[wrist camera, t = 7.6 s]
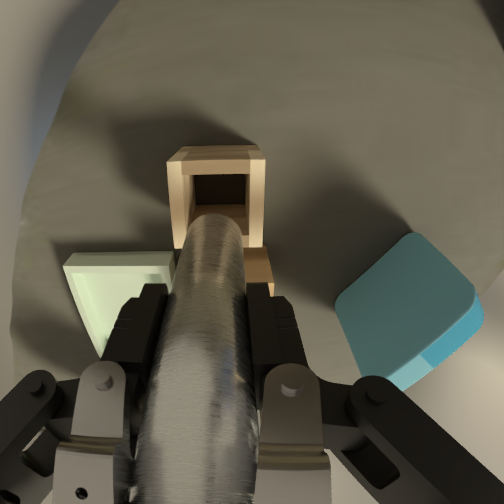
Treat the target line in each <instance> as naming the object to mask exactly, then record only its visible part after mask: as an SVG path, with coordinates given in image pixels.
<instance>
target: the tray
mask: <svg viewBox="0 0 504 504" xmlns="http://www.w3.org/2000/svg"><path fill="white" fill-rule="evenodd" d="M63 269H64V272H65V275H66V278H67V281H68V284H69V286H70V289H71V292H72V295H73V297H74V300H75V302H76V305H77V308H78V310H79V313H80V315H81V317H82V320H83V322H84V325H85V327H86V329H87V331H88V334H89V336H90V338H91V340H92V343H93V345H94V347H95V349H96V351H97V353H98V355H99V357H100V358H101V357H102V354H103V352H104V349H105V347H106V344H107V341H108V339H109V336H110V334H111V331H112V329H113V328H114V324H115V321H116V319H117V317H118V314H119V312H120V309H121V307H122V306H123V305H124V304H125V303H126V302H127V301H128V300H129V299H130V298H131V297H139V296H140V293H141V291H142V288H143V286H144V284H145V283H166V285H167V287H168V293H170V289H171V285H172V282H173V278H174V275H175V271H176V266H175V258H174V251H136V252H79V253H73V254H72V255H71V256H70V257H69V259H68V260H67V261H66V262H65V264H64V265H63Z"/></svg>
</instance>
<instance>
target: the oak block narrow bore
mask: <svg viewBox="0 0 504 504" xmlns="http://www.w3.org/2000/svg"><path fill="white" fill-rule="evenodd" d="M243 253H244V265H245V278H246V282H268V286H269V291H270V296H271V297H272V296H273V293H274V279H273V275H272V270H271V266H270V261H269V257H268V252H267V248H266V245H262V247H243Z"/></svg>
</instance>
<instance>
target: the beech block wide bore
mask: <svg viewBox="0 0 504 504" xmlns="http://www.w3.org/2000/svg"><path fill="white" fill-rule="evenodd" d="M202 174H246V189H245V204H231V205H196V196H195V175H202ZM167 175H168V188H169V200H170V211H171V221H172V230H173V239H174V248H175V249H178V248H182V247H183V244H184V240H185V237H186V234H187V231H188V228H189V226H190V225H191V223H192V222H193V221H194V220H195V219H197V218H198V217H200V216H202V215H205V214H211V213H217V214H222V215H225V216H227V217H229V218H231V219H232V220H233V221H235V222H236V224H237V225H238V226H239V228H240V230H241V233H242V240H243V247H262V241H263V215H264V187H265V158H264V156H263V154H262V153H261V151H260V149H259V147H258V145H215V146H188V147H182V148H181V149H180V150H178V151H177V152H176V153H175V154H174V155H173V156H172V157H171V158H170V159H169V160H168V161H167Z"/></svg>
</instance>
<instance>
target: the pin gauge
mask: <svg viewBox="0 0 504 504" xmlns="http://www.w3.org/2000/svg"><path fill="white" fill-rule="evenodd" d="M259 440H260V437H259V426H258V416H257V405H256V394H255V386H254V383H253V374H252V362H251V351H250V338H249V326H248V314H247V301H246V278H245V265H244V253H243V240H242V233H241V230H240V228H239V226H238V225H237V224H236V222H235V221H233V220H232V219H231V218H229V217H227V216H225V215H222V214H217V213H211V214H205V215H202V216H200V217H198V218H197V219H195V220H194V221H193V222H192V223H191V225H190V226H189V228H188V231H187V234H186V237H185V240H184V244H183V247H182V250H181V254H180V257H179V261H178V264H177V268H176V271H175V275H174V278H173V282H172V285H171V289H170V293H169V297H168V300H167V304H166V308H165V312H164V316H163V320H162V324H161V328H160V332H159V336H158V340H157V344H156V349H155V353H154V358H153V362H152V367H151V371H150V376H149V381H148V386H147V390H146V395H145V401H144V406H143V411H142V417H141V422H140V428H139V434H138V440H137V446H136V453H135V460H134V468H133V480H132V488H131V490H130V499H129V502H131V503H137V504H253V500H254V490H255V481H256V471H257V461H258V451H259Z"/></svg>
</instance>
